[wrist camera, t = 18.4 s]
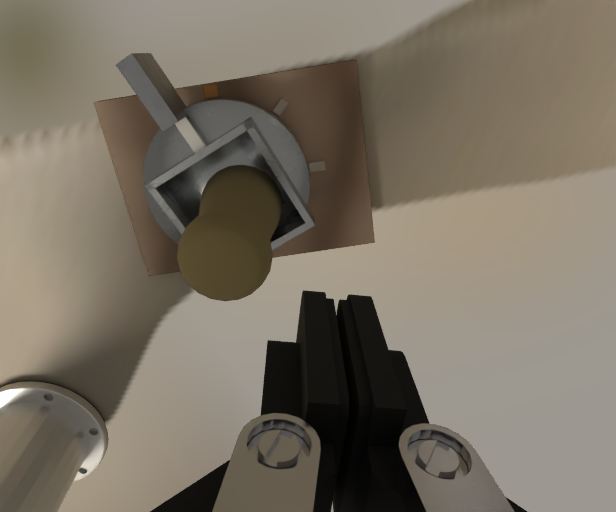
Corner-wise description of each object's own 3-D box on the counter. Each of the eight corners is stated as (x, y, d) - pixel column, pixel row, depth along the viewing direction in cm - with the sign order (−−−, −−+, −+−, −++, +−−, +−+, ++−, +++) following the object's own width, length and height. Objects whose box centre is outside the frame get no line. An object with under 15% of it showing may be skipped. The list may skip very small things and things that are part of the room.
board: (152, 269, 40) (148, 277, 39) (99, 100, 35) (92, 102, 33) (372, 237, 40) (375, 243, 38) (354, 59, 34) (357, 60, 33)
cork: (185, 212, 35) (140, 277, 25) (231, 147, 33) (204, 189, 23) (251, 257, 36) (235, 337, 26) (299, 198, 34) (302, 258, 24)
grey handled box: (337, 205, 37) (343, 227, 32) (211, 277, 39) (200, 307, 34) (219, 8, 31) (206, 0, 27) (80, 104, 33) (46, 113, 29)
